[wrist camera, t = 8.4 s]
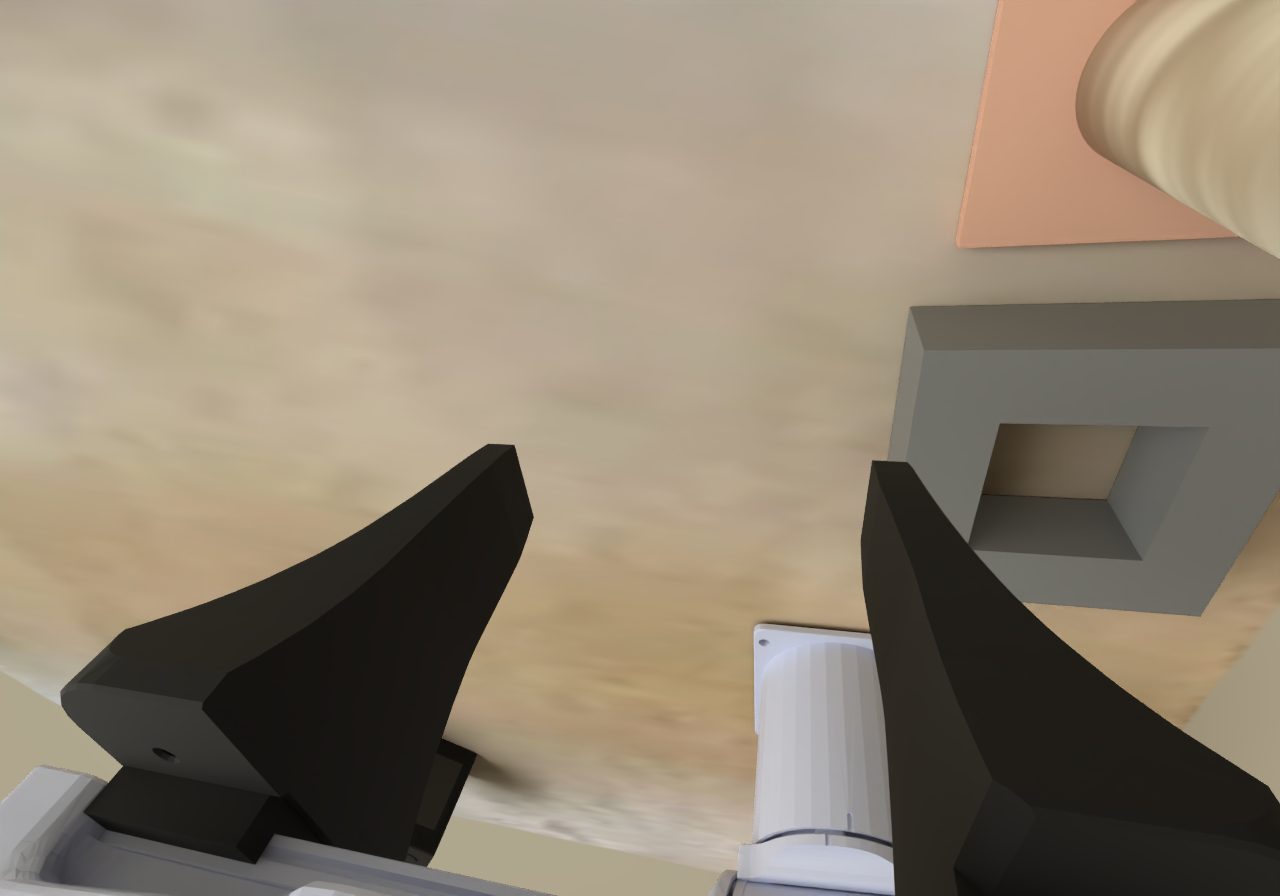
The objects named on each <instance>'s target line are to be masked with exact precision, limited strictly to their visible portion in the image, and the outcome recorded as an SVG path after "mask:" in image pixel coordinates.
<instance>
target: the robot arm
mask: <svg viewBox="0 0 1280 896" xmlns="http://www.w3.org/2000/svg"><path fill="white" fill-rule="evenodd" d="M533 518H534V516H533V513H532V509H531V505H530V502H529V498H528V494H527V490H526V487H525V483H524V479H523V475H522V472H521V468H520V464H519V460H518V457H517V453H516V449H515V446H514V445H503V444H487V445H486V446H484V447H482V448H481V449H479V450H478V451H476V452H475V453H473V454H472V455H470V456H469V457H467V458H466V459H464V460H463V461H462V462H460V463H459V464H457V465H456V466H455V467H453V468H452V469H450V470H449V471H448V472H446V473H445V474H444V475H442V476H441V477H439V478H438V479H437V480H435V481H434V482H432V483H431V484H429V485H428V486H427V487H425V488H424V489H422V490H421V491H420V492H418V493H417V494H415V495H414V496H413V497H411V498H410V499H408V500H407V501H405V502H404V503H402V504H401V505H399V506H397V507H396V508H394V509H393V510H391V511H390V512H388V513H387V514H385V515H384V516H382V517H381V518H379V519H378V520H376V521H375V522H373V523H371V524H370V525H368V526H367V527H365V528H363V529H362V530H360V531H358V532H357V533H355V534H353V535H352V536H350V537H348V538H346V539H345V540H343V541H341V542H339V543H337V544H335V545H334V546H332V547H330V548H328V549H326V550H325V551H323V552H321V553H319V554H317V555H315V556H313V557H311V558H309V559H307V560H305V561H303V562H300V563H298V564H296V565H294V566H292V567H290V568H288V569H286V570H284V571H281V572H279V573H277V574H275V575H273V576H271V577H269V578H267V579H264V580H262V581H260V582H257V583H255V584H253V585H250V586H248V587H245V588H243V589H240V590H238V591H236V592H233V593H230V594H228V595H225V596H223V597H220V598H217V599H215V600H212V601H210V602H207V603H204V604H201V605H199V606H196V607H193V608H190V609H187V610H184V611H181V612H178V613H175V614H172V615H169V616H166V617H163V618H160V619H157V620H154V621H151V622H148V623H145V624H142V625H138V626H135V627H132V628H128V629H125V630H124V631H122V632H121V633H120V634H119V635H118V636H117V637H116V638H115V639H114V640H113V641H112V642H111V643H110V644H109V645H108V646H107V647H106V648H105V649H103V650H102V651H101V652H100V653H99V654H98V655H97V656H96V657H95V658H94V659H93V660H92V661H91V662H90V663H89V664H88V665H87V666H86V667H85V668H83V669H82V670H81V671H80V672H79V673H78V674H77V675H76V676H75V677H74V678H73V679H72V680H71V681H70V682H69V683H68V684H67V685H65V687H64V688H63V689H62V690H61V704H62V707H63V709H64V710H65V712H66V713H67V715H68V716H69V717H70V718H71V719H72V720H73V721H74V722H75V723H76V724H77V725H78V726H79V727H80V728H81V729H82V730H83V731H84V732H85V733H86V734H88V735H89V736H90V737H91V738H92V739H93V740H94V741H96V742H97V743H98V744H99V745H100V746H101V747H102V748H103V749H104V750H106V751H107V752H108V753H109V754H110V755H111V756H113V757H114V758H115V759H116V760H117V761H118V762H119V763H120V764H121V765H123V767H122V768H121V769H120V770H119V771H118V773H117V774H116V775H115V776H114V777H113V778H112V780H111V781H110V782H109V783H107V782H106V781H104V780H102V779H100V778H98V777H96V776H93V775H90V774H86V773H82V772H77V771H72V770H67V769H63V768H57V767H53V766H48V765H41V766H37V767H35V768H34V769H33V770H32V772H31V773H29V774H28V776H27V777H26V778H25V779H24V780H23V781H22V782H21V783H20V784H19V785H18V786H17V787H16V788H15V789H14V790H13V791H12V792H11V793H10V794H9V795H8V796H7V797H6V798H5V799H4V800H3V801H2V802H1V803H0V896H556V895H551V894H547V893H542V892H537V891H533V890H529V889H524V888H519V887H515V886H509V885H506V884H501V883H496V882H492V881H487V880H482V879H478V878H474V877H469V876H464V875H460V874H455V873H451V872H446V871H442V870H437V869H432V868H428V867H423V866H419V865H414V864H410V863H405V860H406V856H407V853H408V849H409V845H410V842H411V838H412V834H413V831H414V827H415V823H416V820H417V816H418V812H419V809H420V805H421V801H422V798H423V795H424V792H425V788H426V785H427V782H428V779H429V776H430V772H431V769H432V766H433V763H434V759H435V756H436V753H437V750H438V747H439V744H440V741H441V738H442V735H443V732H444V729H445V726H446V723H447V721H448V718H449V715H450V712H451V709H452V706H453V703H454V701H455V698H456V695H457V693H458V690H459V687H460V685H461V682H462V679H463V677H464V674H465V671H466V669H467V666H468V664H469V661H470V659H471V657H472V655H473V652H474V650H475V648H476V646H477V644H478V642H479V640H480V638H481V636H482V634H483V632H484V630H485V628H486V626H487V624H488V622H489V620H490V618H491V616H492V614H493V612H494V610H495V608H496V606H497V604H498V602H499V600H500V598H501V596H502V594H503V592H504V590H505V588H506V586H507V584H508V582H509V580H510V578H511V576H512V574H513V572H514V570H515V568H516V566H517V563H518V561H519V559H520V557H521V554H522V551H523V548H524V546H525V543H526V540H527V537H528V534H529V530H530V527H531V524H532V521H533ZM861 559H862V580H863V591H864V597H865V603H866V609H867V615H868V621H869V627H870V633H871V634H868V633H858V632H847V631H837V630H826V629H816V628H805V627H795V626H785V625H774V624H759V625H757V626H755V628H754V694H755V732H756V733H757V734H758V735H759V738H758V754H757V770H756V787H755V803H754V819H753V835H752V844H741V845H739V858H738V870H737V871H735V870H726V871H724V872H723V873H722V874H721V875H720V876H719V878H718V879H717V881H716V883H715V884H714V886H713V887H712V888H711V889H710V891H709V893H708V894H707V896H1280V803H1279V802H1278V800H1277V799H1276V797H1275V796H1274V794H1273V793H1272V791H1271V790H1270V788H1269V787H1268V786H1267V785H1265V784H1264V783H1262V782H1261V781H1259V780H1258V779H1256V778H1254V777H1253V776H1251V775H1250V774H1248V773H1247V772H1245V771H1243V770H1242V769H1240V768H1239V767H1237V766H1236V765H1234V764H1233V763H1231V762H1230V761H1228V760H1226V759H1225V758H1223V757H1222V756H1220V755H1219V754H1217V753H1216V752H1214V751H1212V750H1211V749H1209V748H1208V747H1206V746H1205V745H1203V744H1201V743H1200V742H1198V741H1197V740H1195V739H1194V738H1192V737H1190V736H1189V735H1187V734H1186V733H1184V732H1183V731H1181V730H1180V729H1178V728H1177V727H1176V726H1174V725H1173V724H1171V723H1170V722H1168V721H1167V720H1166V719H1164V718H1163V717H1161V716H1160V715H1159V714H1157V713H1156V712H1154V711H1153V710H1152V709H1150V708H1149V707H1147V706H1146V705H1145V704H1143V703H1142V702H1140V701H1139V700H1138V699H1136V698H1135V697H1133V696H1132V695H1131V694H1129V693H1128V692H1127V691H1125V690H1124V689H1123V688H1121V687H1120V686H1119V685H1117V684H1116V683H1115V682H1113V681H1112V680H1111V679H1109V678H1108V677H1107V676H1105V675H1104V674H1103V673H1102V672H1101V671H1099V670H1098V669H1097V668H1096V667H1094V666H1093V665H1092V664H1091V663H1089V662H1088V661H1087V660H1086V659H1085V658H1083V657H1082V656H1081V655H1080V654H1078V653H1077V652H1076V651H1075V650H1073V649H1072V648H1071V647H1070V646H1069V645H1067V644H1066V643H1065V642H1064V641H1063V640H1061V639H1060V638H1059V637H1058V636H1057V635H1056V634H1055V633H1053V632H1052V631H1051V630H1050V629H1049V628H1048V627H1047V626H1045V625H1044V624H1043V623H1042V622H1041V621H1040V620H1039V619H1038V618H1037V617H1036V616H1035V615H1034V614H1033V613H1032V612H1031V611H1030V610H1029V609H1027V608H1026V607H1025V606H1024V605H1023V604H1022V603H1021V602H1020V601H1019V600H1018V599H1017V598H1016V597H1015V596H1014V595H1013V594H1012V593H1011V592H1010V591H1009V589H1008V588H1007V587H1006V586H1005V585H1004V584H1003V583H1002V582H1001V581H1000V580H999V579H998V578H997V577H996V576H995V574H994V573H993V572H992V571H991V570H990V569H989V568H988V567H987V566H986V564H985V563H984V562H983V561H982V560H981V559H980V558H979V556H978V555H977V554H976V553H975V552H974V551H973V549H972V548H971V547H970V546H969V544H968V543H967V542H966V541H965V539H964V538H963V537H962V536H961V534H960V533H959V532H958V531H957V529H956V528H955V527H954V526H953V524H952V523H951V522H950V521H949V519H948V518H947V517H946V515H945V514H944V513H943V511H942V510H941V508H940V507H939V506H938V504H937V503H936V501H935V500H934V499H933V497H932V496H931V494H930V493H929V492H928V490H927V489H926V487H925V486H924V484H923V483H922V481H921V480H920V478H919V477H918V475H917V474H916V472H915V470H914V469H913V467H912V466H911V465H910V464H909V463H908V462H896V461H873V460H872V466H871V472H870V479H869V486H868V493H867V500H866V507H865V514H864V521H863V528H862V535H861ZM764 639H765V640H764Z"/></svg>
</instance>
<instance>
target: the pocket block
mask: <svg viewBox="0 0 1280 896" xmlns="http://www.w3.org/2000/svg"><path fill="white" fill-rule="evenodd" d="M1000 423H1008V424H1059V425H1110V426H1138V428H1137V431H1136V433H1135V436H1134V438H1133V440H1132V443H1131V445H1130V447H1129V450H1128V452H1127V455H1126V457H1125V459H1124V462H1123V464H1122V466H1121V469H1120V471H1119V474H1118V476H1117V478H1116V481H1115V483H1114V485H1113V488H1112V490H1111V493H1110V495H1109V497H1108V500H1087V499H1065V498H1042V497H1020V496H997V495H981V493H982V489H983V485H984V481H985V477H986V474H987V470H988V466H989V462H990V459H991V455H992V451H993V447H994V444H995V440H996V436H997V432H998V428H999V425H1000ZM888 461H896V462H908V463H909V464H910V465H911V466H912V467H913V469H914V470H915V472H916V474H917V475H918V477H919V478H920V480H921V481H922V483H923V484H924V486H925V487H926V489H927V490H928V492H929V493H930V494H931V496H932V497H933V499H934V500H935V501H936V503H937V504H938V506H939V507H940V508H941V510H942V511H943V513H944V514H945V515H946V517H947V518H948V519H949V521H950V522H951V523H952V524H953V526H954V527H955V528H956V529H957V531H958V532H959V533H960V534H961V536H962V537H963V538H964V539H965V541H966V542H967V543H968V544H969V546H970V547H971V548H972V549H973V551H974V552H975V553H976V554H977V555H978V556H979V558H980V559H981V560H982V561H983V562H984V563H985V564H986V566H987V567H988V568H989V569H990V570H991V571H992V572H993V573H994V574H995V576H996V577H997V578H998V579H999V580H1000V581H1001V582H1002V583H1003V584H1004V585H1005V586H1006V587H1007V588H1008V589H1009V591H1010V592H1011V593H1012V594H1013V595H1014V596H1015V597H1016V598H1017V599H1018V600H1019V601H1020V602H1025V603H1038V604H1050V605H1062V606H1075V607H1087V608H1100V609H1112V610H1125V611H1137V612H1150V613H1162V614H1175V615H1187V616H1201V615H1202V613H1203V612H1204V610H1205V608H1206V607H1207V605H1208V604H1209V602H1210V600H1211V599H1212V597H1213V596H1214V594H1215V592H1216V591H1217V589H1218V588H1219V586H1220V584H1221V583H1222V581H1223V580H1224V578H1225V576H1226V575H1227V573H1228V572H1229V570H1230V568H1231V567H1232V565H1233V564H1234V562H1235V560H1236V559H1237V557H1238V555H1239V554H1240V552H1241V551H1242V549H1243V547H1244V546H1245V544H1246V543H1247V541H1248V539H1249V538H1250V536H1251V535H1252V533H1253V531H1254V530H1255V528H1256V527H1257V525H1258V523H1259V522H1260V520H1261V519H1262V517H1263V515H1264V514H1265V512H1266V511H1267V509H1268V507H1269V506H1270V504H1271V503H1272V501H1273V499H1274V498H1275V496H1276V494H1277V493H1278V491H1279V490H1280V299H1265V300H1217V301H1169V302H1121V303H1074V304H1026V305H978V306H930V307H910V310H909V317H908V324H907V331H906V337H905V344H904V351H903V358H902V365H901V372H900V378H899V385H898V392H897V399H896V406H895V413H894V420H893V426H892V433H891V440H890V447H889V454H888Z"/></svg>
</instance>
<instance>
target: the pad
mask: <svg viewBox="0 0 1280 896" xmlns="http://www.w3.org/2000/svg"><path fill="white" fill-rule="evenodd" d="M1136 1H1138V0H999V3H998V8H997V14H996V19H995V25H994V30H993V36H992V42H991V47H990V53H989V58H988V64H987V69H986V75H985V81H984V86H983V92H982V97H981V103H980V108H979V114H978V120H977V125H976V131H975V136H974V142H973V147H972V153H971V159H970V164H969V170H968V175H967V181H966V186H965V192H964V198H963V203H962V209H961V214H960V220H959V225H958V231H957V237H956V242H955V243H956V245H957V246H958V248H980V247H1004V246H1029V245H1053V244H1078V243H1102V242H1127V241H1151V240H1176V239H1200V238H1225V237H1240V236H1238V235H1237V234H1235V233H1233V232H1231V231H1230V230H1228V229H1226V228H1224V227H1223V226H1221V225H1219V224H1218V223H1216V222H1214V221H1212V220H1211V219H1209V218H1207V217H1205V216H1204V215H1202V214H1200V213H1199V212H1197V211H1195V210H1193V209H1192V208H1190V207H1188V206H1187V205H1185V204H1183V203H1181V202H1180V201H1178V200H1176V199H1174V198H1173V197H1171V196H1169V195H1168V194H1166V193H1164V192H1162V191H1161V190H1159V189H1157V188H1155V187H1154V186H1152V185H1150V184H1149V183H1147V182H1145V181H1143V180H1142V179H1140V178H1138V177H1137V176H1135V175H1133V174H1131V173H1130V172H1128V171H1126V170H1124V169H1123V168H1121V167H1119V166H1118V165H1116V164H1114V163H1112V162H1111V161H1109V160H1107V159H1105V158H1104V157H1102V156H1101V155H1099V154H1098V153H1096V152H1095V151H1094V150H1093V149H1092V148H1091V147H1090V146H1089V145H1088V144H1087V143H1086V141H1085V140H1084V138H1083V137H1082V134H1081V132H1080V130H1079V127H1078V123H1077V119H1076V110H1075V103H1076V93H1077V88H1078V83H1079V80H1080V77H1081V74H1082V71H1083V69H1084V66H1085V64H1086V62H1087V60H1088V58H1089V56H1090V54H1091V52H1092V51H1093V49H1094V47H1095V46H1096V44H1097V43H1098V41H1099V40H1100V38H1101V37H1102V36H1103V34H1104V33H1105V32H1106V31H1107V29H1108V28H1109V27H1110V26H1111V25H1112V24H1113V22H1114V21H1115V20H1116V19H1117V18H1118V17H1119V16H1120V15H1121V14H1122V13H1123V12H1124V11H1125V10H1127V9H1128V8H1129V7H1130V6H1132V5H1133V4H1134V3H1135V2H1136Z"/></svg>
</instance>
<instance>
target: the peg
mask: <svg viewBox="0 0 1280 896" xmlns="http://www.w3.org/2000/svg"><path fill="white" fill-rule="evenodd" d="M1075 110H1076V119H1077V123H1078V127H1079V130H1080V132H1081V134H1082V137H1083V138H1084V140H1085V141H1086V143H1087V144H1088V145H1089V146H1090V147H1091V148H1092V149H1093V150H1094V151H1095V152H1096V153H1098V154H1099V155H1101V156H1102V157H1104V158H1105V159H1107V160H1109V161H1111V162H1112V163H1114V164H1116V165H1118V166H1119V167H1121V168H1123V169H1124V170H1126V171H1128V172H1130V173H1131V174H1133V175H1135V176H1137V177H1138V178H1140V179H1142V180H1143V181H1145V182H1147V183H1149V184H1150V185H1152V186H1154V187H1155V188H1157V189H1159V190H1161V191H1162V192H1164V193H1166V194H1168V195H1169V196H1171V197H1173V198H1174V199H1176V200H1178V201H1180V202H1181V203H1183V204H1185V205H1187V206H1188V207H1190V208H1192V209H1193V210H1195V211H1197V212H1199V213H1200V214H1202V215H1204V216H1205V217H1207V218H1209V219H1211V220H1212V221H1214V222H1216V223H1218V224H1219V225H1221V226H1223V227H1224V228H1226V229H1228V230H1230V231H1231V232H1233V233H1235V234H1237V235H1238V236H1240V237H1242V238H1243V239H1245V240H1247V241H1249V242H1250V243H1252V244H1254V245H1255V246H1257V247H1259V248H1261V249H1262V250H1264V251H1266V252H1268V253H1269V254H1271V255H1273V256H1274V257H1276V258H1278V259H1280V0H1138V1H1136V2H1135V3H1134V4H1133V5H1132V6H1130V7H1129V8H1128V9H1127V10H1125V11H1124V12H1123V13H1122V14H1121V15H1120V16H1119V17H1118V18H1117V19H1116V20H1115V21H1114V22H1113V24H1112V25H1111V26H1110V27H1109V28H1108V29H1107V31H1106V32H1105V33H1104V34H1103V36H1102V37H1101V38H1100V40H1099V41H1098V43H1097V44H1096V46H1095V47H1094V49H1093V51H1092V52H1091V54H1090V56H1089V58H1088V60H1087V62H1086V64H1085V66H1084V69H1083V71H1082V74H1081V77H1080V80H1079V83H1078V88H1077V93H1076V103H1075Z"/></svg>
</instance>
